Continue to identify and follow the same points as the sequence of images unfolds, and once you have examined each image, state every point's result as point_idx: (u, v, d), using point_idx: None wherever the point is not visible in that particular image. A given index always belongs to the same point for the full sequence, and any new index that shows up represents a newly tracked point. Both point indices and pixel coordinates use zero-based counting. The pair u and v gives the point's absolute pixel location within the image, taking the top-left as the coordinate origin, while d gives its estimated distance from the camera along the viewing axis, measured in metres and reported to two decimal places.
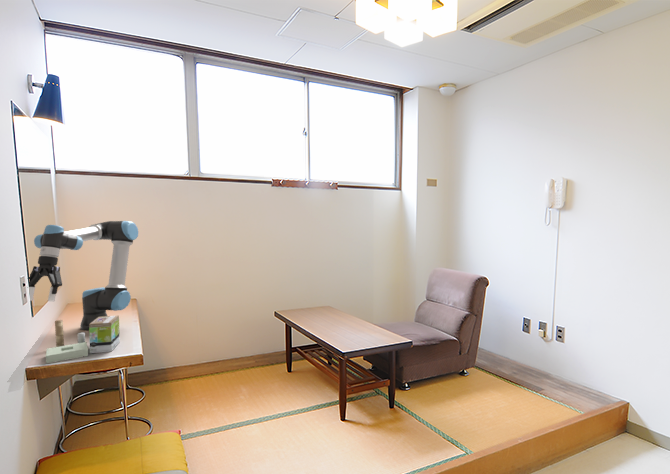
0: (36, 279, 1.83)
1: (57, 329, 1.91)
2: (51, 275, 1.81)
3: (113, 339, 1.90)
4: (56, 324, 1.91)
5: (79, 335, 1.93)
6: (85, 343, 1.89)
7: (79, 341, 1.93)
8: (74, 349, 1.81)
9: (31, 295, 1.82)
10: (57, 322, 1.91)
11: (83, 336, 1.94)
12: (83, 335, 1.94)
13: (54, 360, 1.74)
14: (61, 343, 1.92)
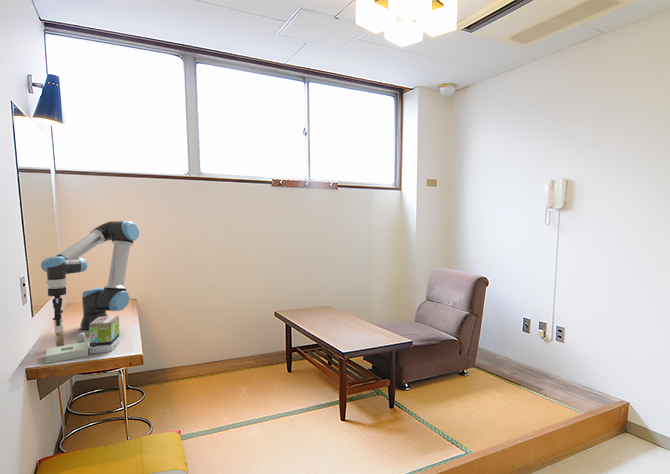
0: None
1: None
2: None
3: (113, 339, 1.90)
4: None
5: (79, 335, 1.93)
6: (85, 343, 1.89)
7: (79, 341, 1.93)
8: (74, 349, 1.81)
9: None
10: None
11: (83, 336, 1.94)
12: (83, 335, 1.94)
13: (54, 360, 1.74)
14: (61, 343, 1.92)
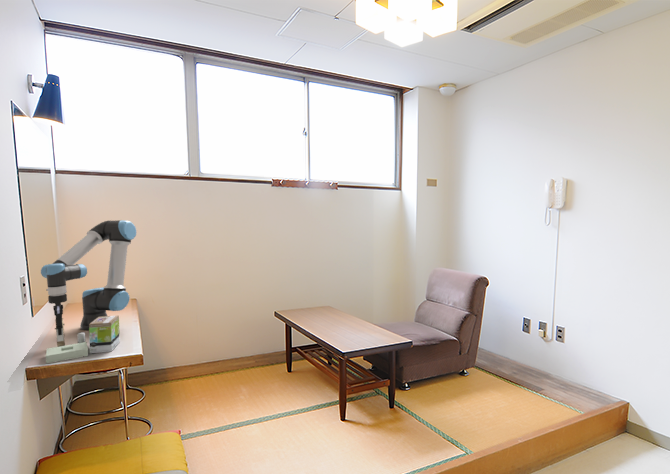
0: None
1: None
2: None
3: (113, 339, 1.90)
4: None
5: (79, 335, 1.93)
6: (85, 343, 1.89)
7: (79, 341, 1.93)
8: (74, 349, 1.81)
9: None
10: None
11: (83, 336, 1.94)
12: (83, 335, 1.94)
13: (54, 360, 1.74)
14: (62, 341, 1.93)
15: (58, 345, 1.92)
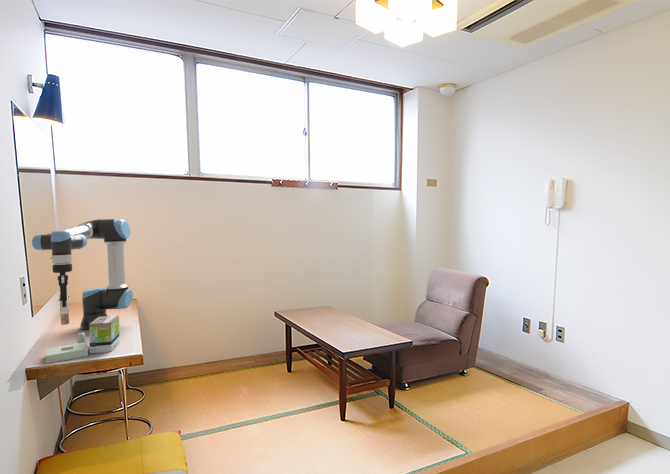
0: None
1: None
2: None
3: (113, 339, 1.90)
4: None
5: (79, 335, 1.93)
6: (85, 343, 1.89)
7: (79, 341, 1.93)
8: (74, 349, 1.81)
9: None
10: None
11: (83, 336, 1.94)
12: (83, 335, 1.94)
13: (54, 360, 1.74)
14: (66, 319, 1.80)
15: (62, 323, 1.80)
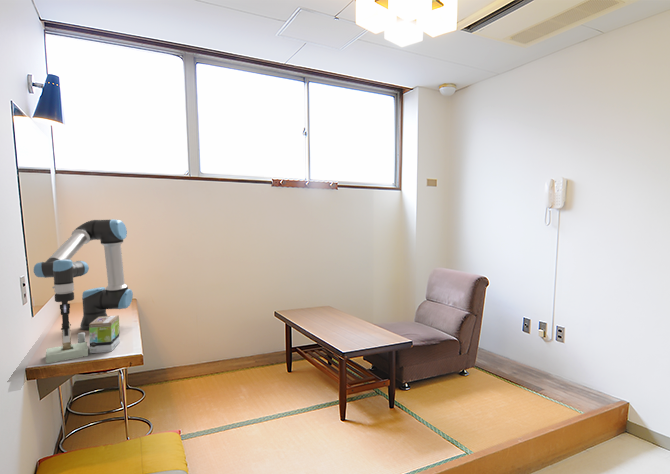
0: None
1: None
2: None
3: (113, 339, 1.90)
4: None
5: (79, 335, 1.93)
6: (85, 343, 1.89)
7: (79, 341, 1.93)
8: (74, 349, 1.81)
9: None
10: None
11: (83, 336, 1.94)
12: (83, 335, 1.94)
13: (54, 360, 1.74)
14: (68, 347, 1.81)
15: None
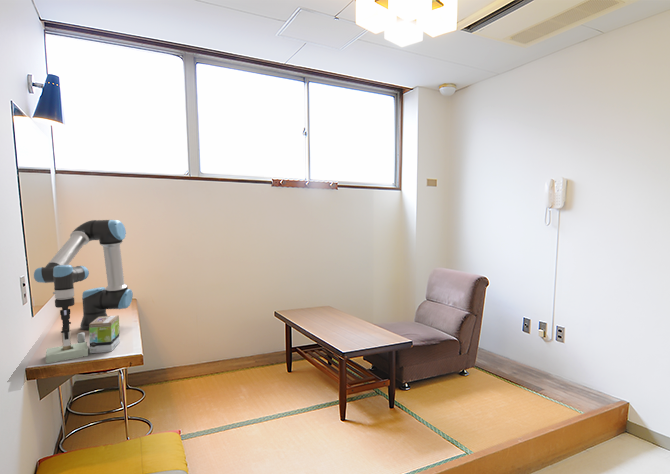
0: None
1: None
2: None
3: (113, 339, 1.90)
4: None
5: (79, 335, 1.93)
6: (85, 343, 1.89)
7: (79, 341, 1.93)
8: (74, 349, 1.81)
9: None
10: None
11: (83, 336, 1.94)
12: (83, 335, 1.94)
13: (54, 360, 1.74)
14: None
15: None
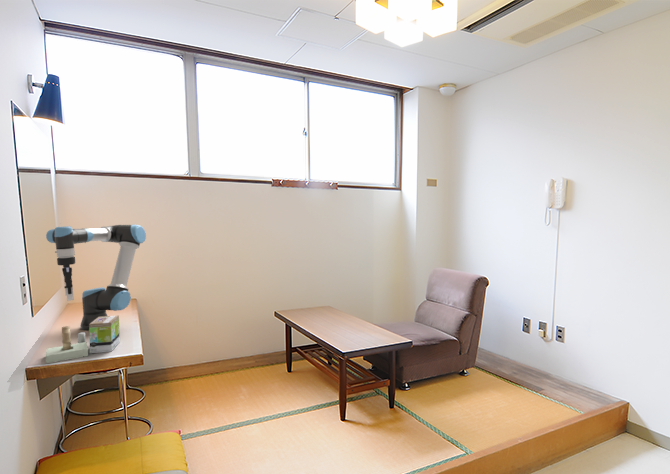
0: None
1: (64, 336, 1.80)
2: None
3: (113, 339, 1.90)
4: (63, 331, 1.80)
5: (79, 335, 1.93)
6: (85, 343, 1.89)
7: (79, 341, 1.93)
8: (74, 349, 1.81)
9: None
10: (64, 329, 1.80)
11: (83, 336, 1.94)
12: (83, 335, 1.94)
13: (54, 360, 1.74)
14: None
15: None
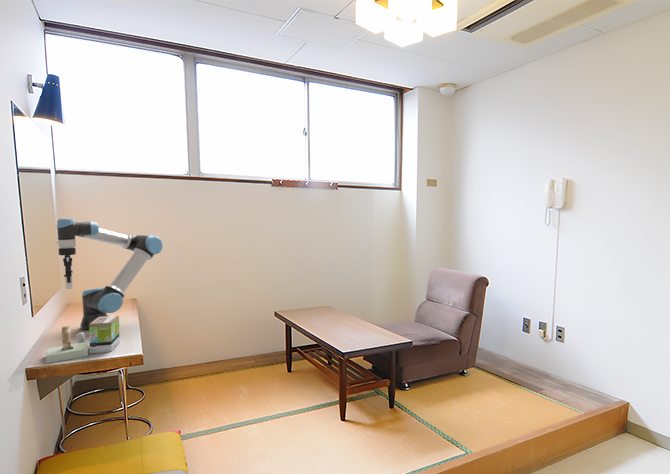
0: None
1: (64, 336, 1.80)
2: None
3: (113, 339, 1.90)
4: (63, 331, 1.80)
5: (78, 335, 1.92)
6: (85, 343, 1.89)
7: (78, 341, 1.93)
8: (74, 349, 1.81)
9: None
10: (64, 329, 1.80)
11: (82, 336, 1.93)
12: (82, 335, 1.93)
13: (54, 360, 1.74)
14: None
15: None
